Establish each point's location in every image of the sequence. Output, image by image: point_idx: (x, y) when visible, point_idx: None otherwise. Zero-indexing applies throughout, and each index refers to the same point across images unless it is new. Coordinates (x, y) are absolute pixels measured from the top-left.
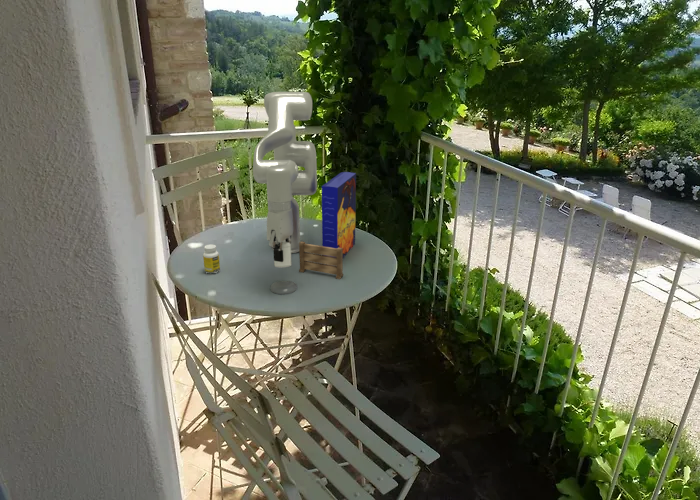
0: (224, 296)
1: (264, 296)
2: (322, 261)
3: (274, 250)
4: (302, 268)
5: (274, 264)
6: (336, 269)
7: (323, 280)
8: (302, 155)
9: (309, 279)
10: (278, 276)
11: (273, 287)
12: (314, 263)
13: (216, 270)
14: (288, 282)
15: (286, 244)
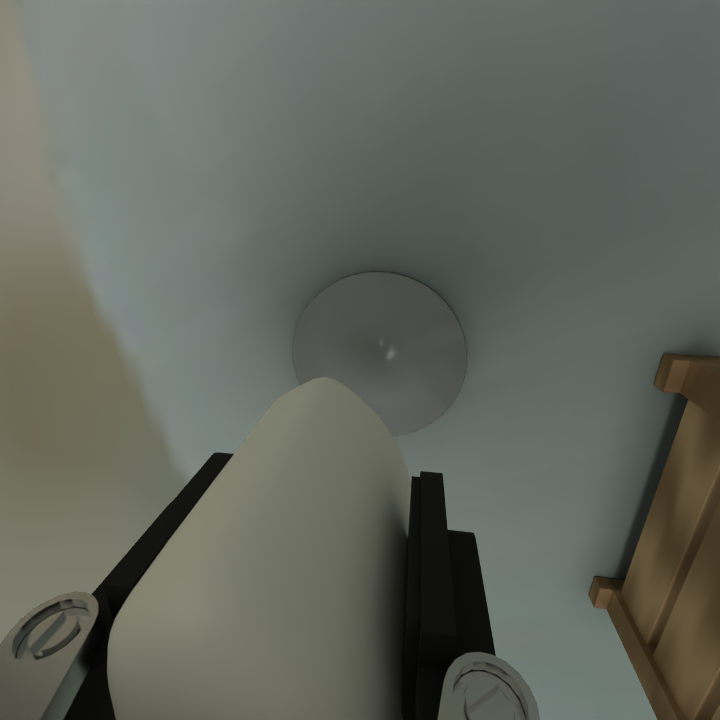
0: (99, 13)
1: (237, 293)
2: (699, 591)
3: (75, 612)
4: (689, 385)
5: (272, 405)
6: (638, 626)
7: (552, 525)
8: None
9: (546, 454)
10: (545, 239)
11: (340, 304)
12: (706, 509)
13: None
14: (442, 365)
15: None
